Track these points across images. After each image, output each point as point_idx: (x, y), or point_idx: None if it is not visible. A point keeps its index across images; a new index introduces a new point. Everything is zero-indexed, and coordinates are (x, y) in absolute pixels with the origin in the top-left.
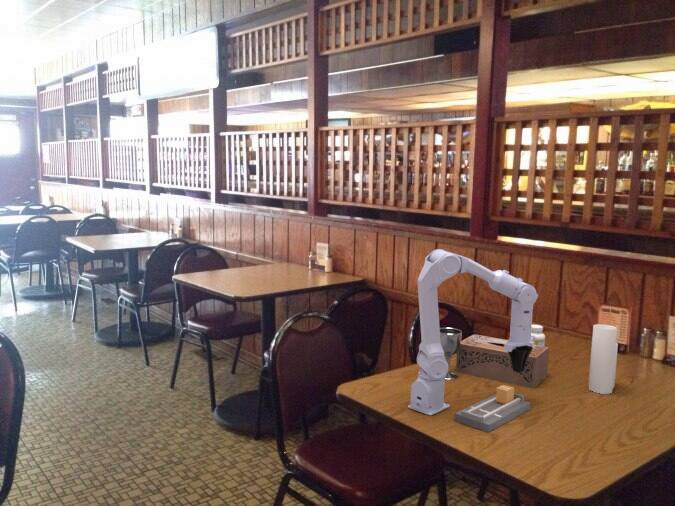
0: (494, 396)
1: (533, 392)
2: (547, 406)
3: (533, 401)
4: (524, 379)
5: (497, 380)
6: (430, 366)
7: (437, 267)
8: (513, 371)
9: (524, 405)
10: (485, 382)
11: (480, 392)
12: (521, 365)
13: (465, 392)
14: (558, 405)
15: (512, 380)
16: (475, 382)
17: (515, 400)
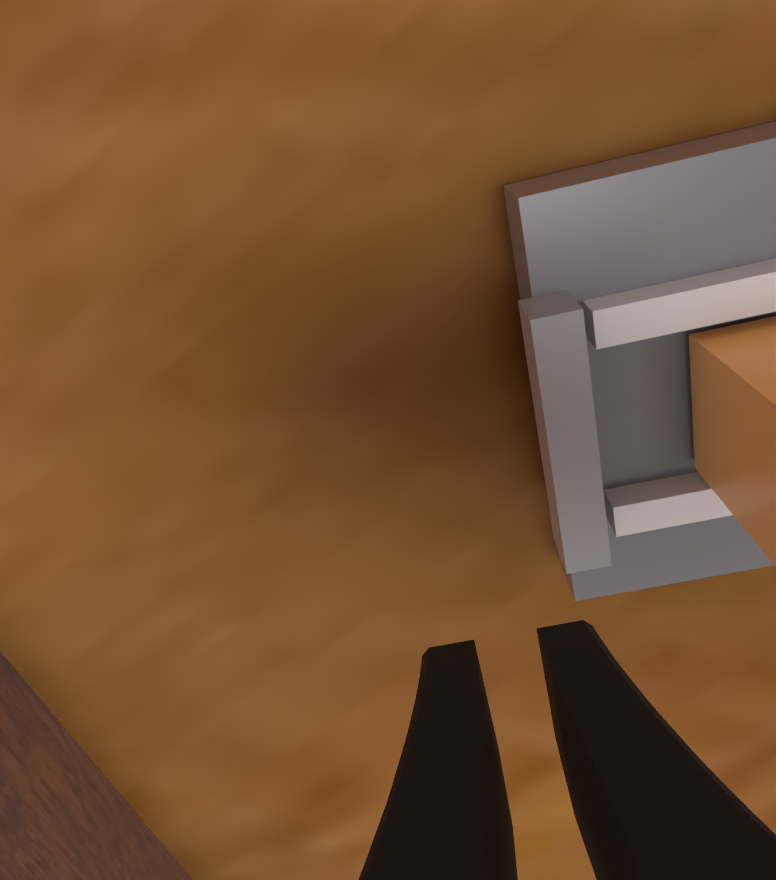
0: (699, 552)
1: (32, 514)
2: (202, 134)
3: (240, 340)
4: None
5: (152, 832)
6: None
7: None
8: (15, 859)
9: (681, 161)
10: (291, 843)
11: (532, 728)
12: (658, 734)
13: None
14: (30, 76)
15: (63, 769)
16: None
17: (722, 296)
